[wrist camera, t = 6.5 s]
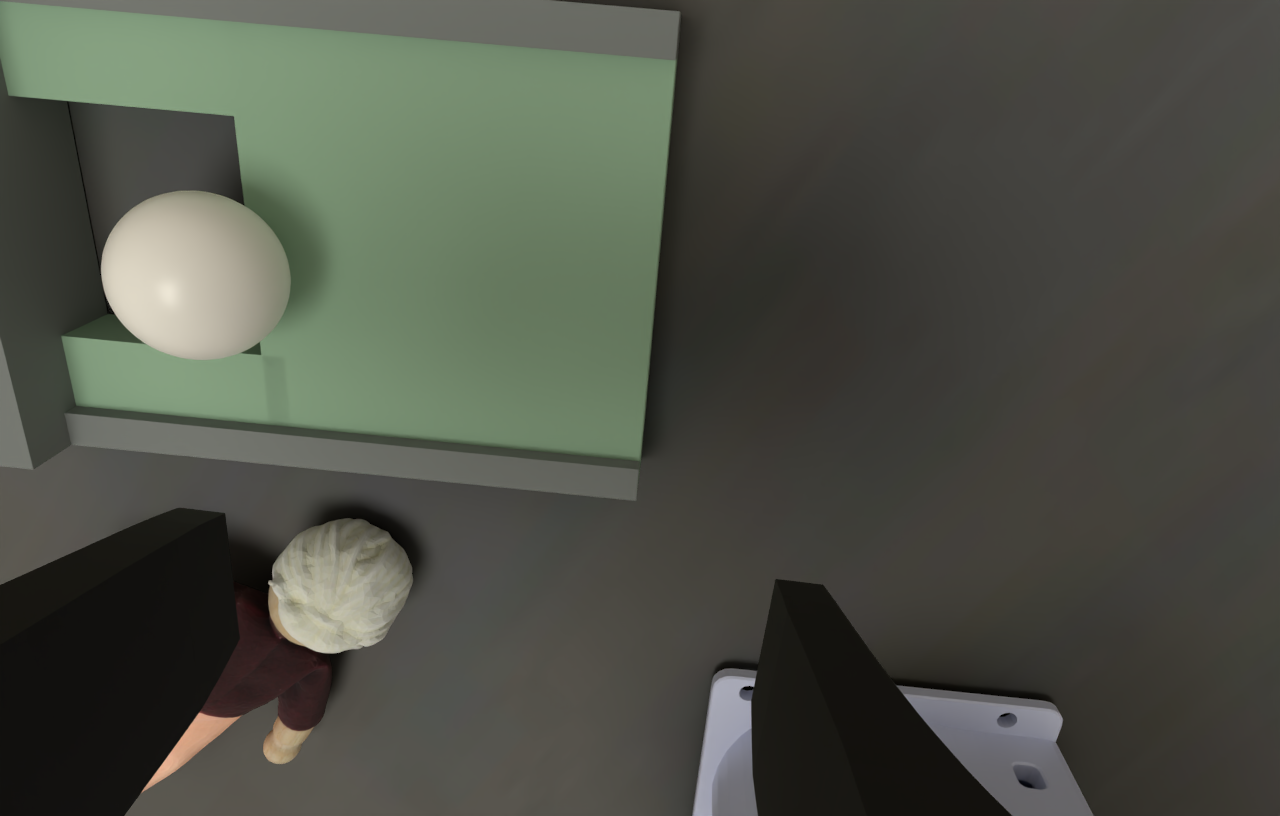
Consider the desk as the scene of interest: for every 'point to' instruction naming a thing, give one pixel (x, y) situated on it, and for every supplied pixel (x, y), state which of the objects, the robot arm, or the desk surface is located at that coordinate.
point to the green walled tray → (359, 234)
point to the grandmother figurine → (302, 634)
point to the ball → (195, 275)
